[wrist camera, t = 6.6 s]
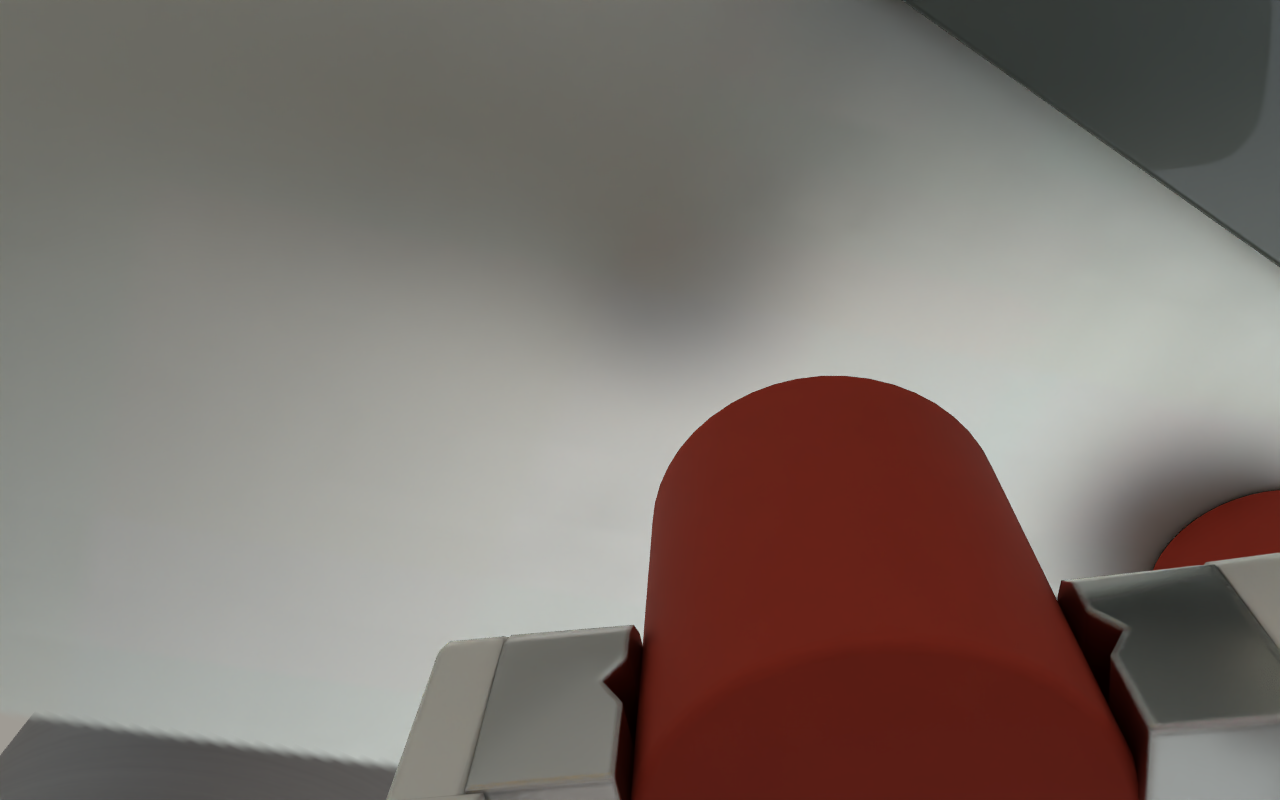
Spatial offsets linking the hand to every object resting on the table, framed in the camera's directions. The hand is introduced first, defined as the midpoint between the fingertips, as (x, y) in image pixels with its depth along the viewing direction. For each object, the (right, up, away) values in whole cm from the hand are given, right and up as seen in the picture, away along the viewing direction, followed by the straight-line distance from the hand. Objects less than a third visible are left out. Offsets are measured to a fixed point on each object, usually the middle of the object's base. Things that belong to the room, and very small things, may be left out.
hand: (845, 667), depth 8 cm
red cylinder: (0, +1, +2) cm, 2 cm away
